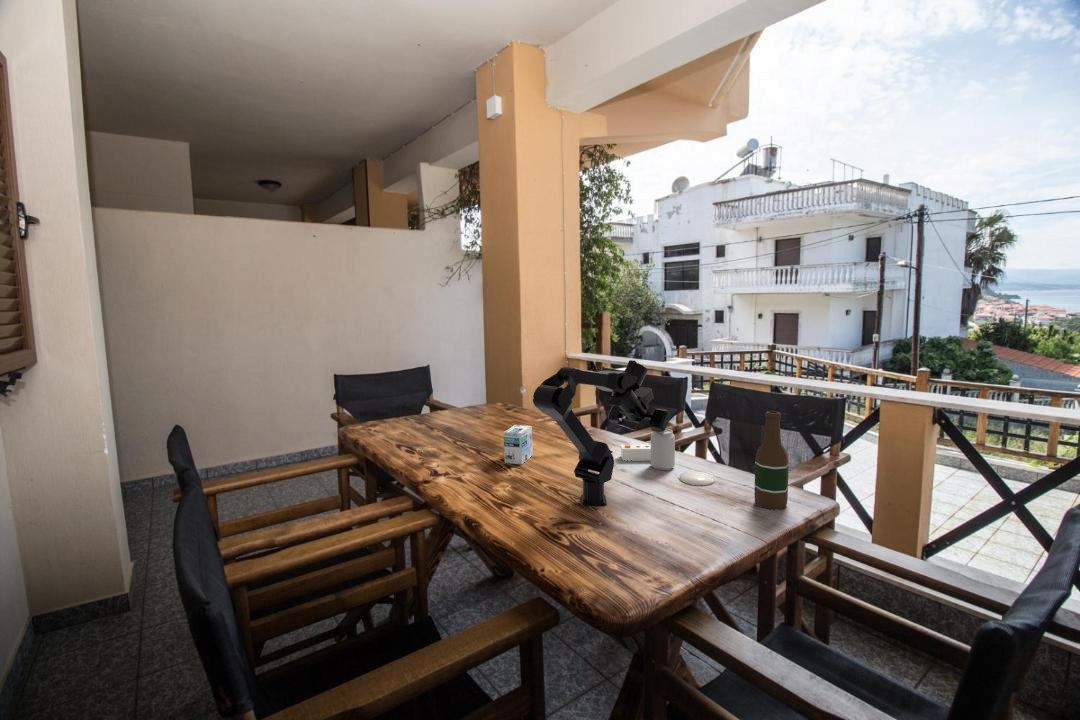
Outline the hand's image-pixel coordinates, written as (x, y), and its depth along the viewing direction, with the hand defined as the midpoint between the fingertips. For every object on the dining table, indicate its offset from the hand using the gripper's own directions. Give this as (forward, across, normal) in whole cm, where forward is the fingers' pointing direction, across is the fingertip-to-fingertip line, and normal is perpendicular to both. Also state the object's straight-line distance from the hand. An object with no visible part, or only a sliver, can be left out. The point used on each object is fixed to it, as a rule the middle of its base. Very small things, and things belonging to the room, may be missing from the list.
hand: (649, 431), depth 147 cm
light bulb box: (-2, +42, +20) cm, 46 cm away
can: (+15, 0, +4) cm, 15 cm away
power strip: (+17, +10, +1) cm, 20 cm away
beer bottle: (+9, -36, +10) cm, 38 cm away
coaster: (+12, -13, +6) cm, 19 cm away
